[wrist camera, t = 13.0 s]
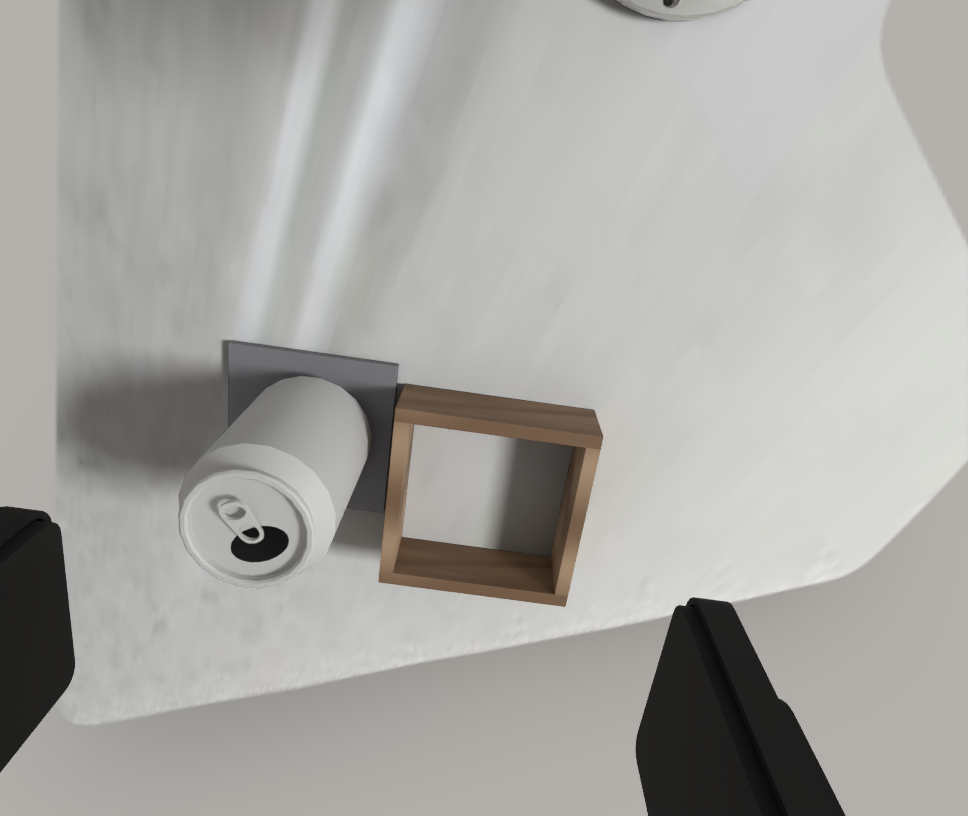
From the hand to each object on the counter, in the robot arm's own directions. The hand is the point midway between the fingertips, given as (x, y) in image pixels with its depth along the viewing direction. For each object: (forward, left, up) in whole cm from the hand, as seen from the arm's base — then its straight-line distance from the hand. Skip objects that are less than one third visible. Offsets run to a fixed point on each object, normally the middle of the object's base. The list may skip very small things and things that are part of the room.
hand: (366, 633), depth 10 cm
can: (+11, -8, -30) cm, 33 cm away
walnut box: (+13, +3, -30) cm, 33 cm away
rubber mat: (+11, -8, -30) cm, 33 cm away
